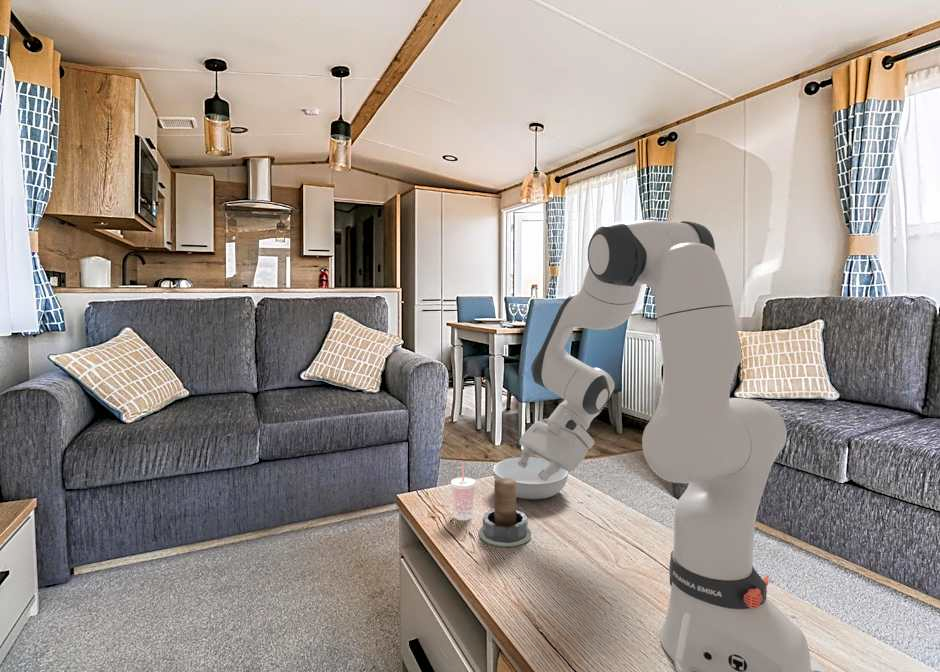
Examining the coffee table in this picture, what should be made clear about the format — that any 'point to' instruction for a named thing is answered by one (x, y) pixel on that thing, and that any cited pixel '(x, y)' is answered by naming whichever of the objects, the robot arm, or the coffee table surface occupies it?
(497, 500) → the brown rounded cylinder
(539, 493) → the serving bowl
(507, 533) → the cup holder
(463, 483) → the beverage cup
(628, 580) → the coffee table surface
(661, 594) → the coffee table surface
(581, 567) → the coffee table surface
